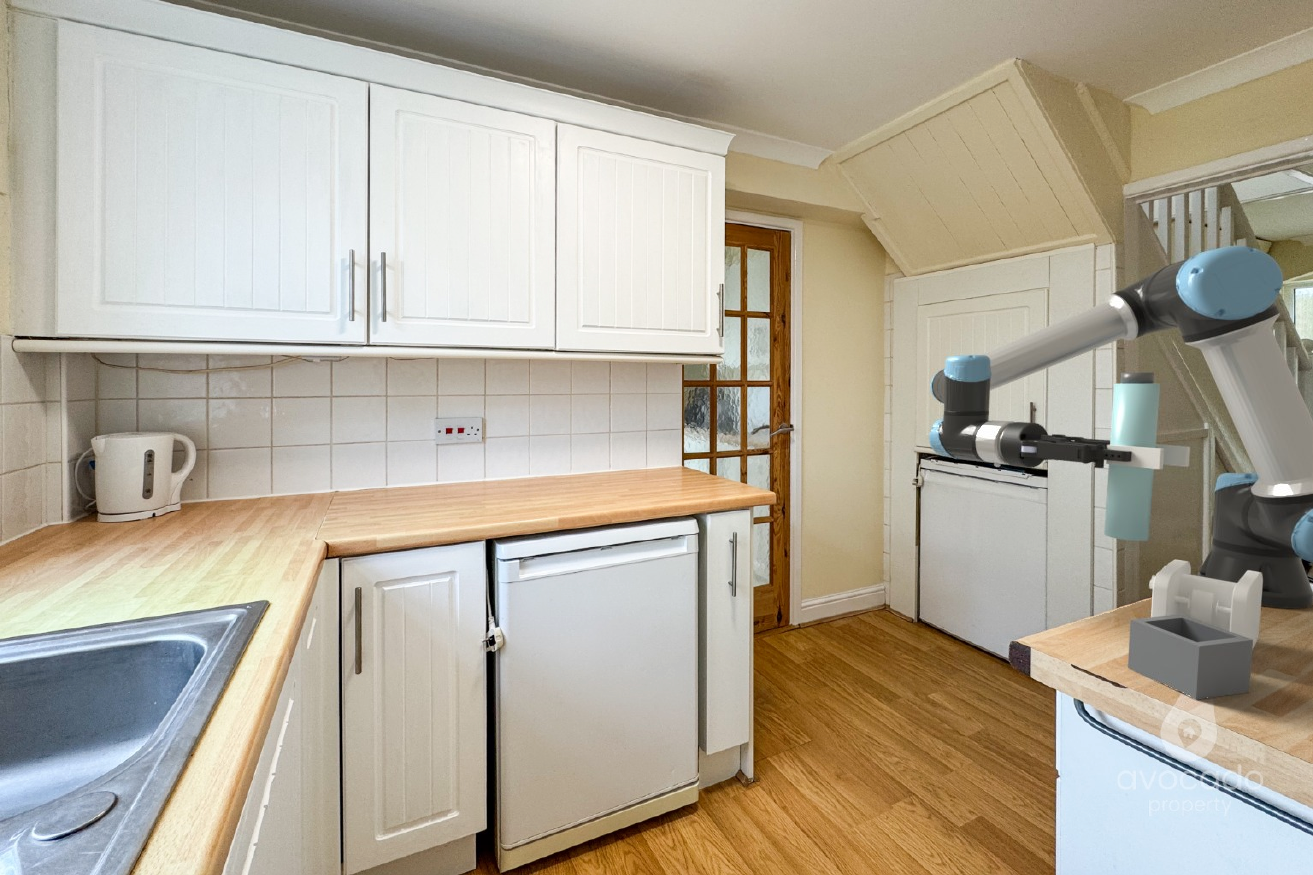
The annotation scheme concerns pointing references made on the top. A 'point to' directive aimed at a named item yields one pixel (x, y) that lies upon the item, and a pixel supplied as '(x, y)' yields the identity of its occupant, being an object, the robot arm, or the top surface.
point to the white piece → (1209, 598)
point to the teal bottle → (1129, 483)
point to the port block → (1190, 656)
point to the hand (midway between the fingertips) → (1174, 457)
